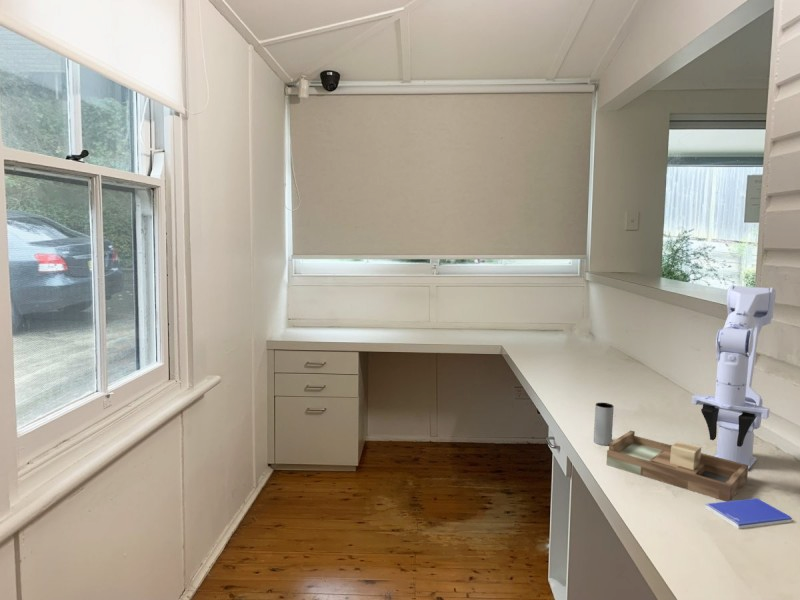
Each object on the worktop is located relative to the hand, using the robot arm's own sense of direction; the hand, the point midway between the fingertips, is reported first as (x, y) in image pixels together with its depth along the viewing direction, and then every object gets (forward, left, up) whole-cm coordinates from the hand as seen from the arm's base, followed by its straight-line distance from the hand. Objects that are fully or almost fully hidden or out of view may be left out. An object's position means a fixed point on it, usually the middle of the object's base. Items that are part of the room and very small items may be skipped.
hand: (726, 442), depth 119 cm
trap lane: (+2, -10, -9) cm, 14 cm away
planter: (-4, -30, -10) cm, 31 cm away
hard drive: (+13, +7, -10) cm, 18 cm away
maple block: (0, -8, -7) cm, 11 cm away
